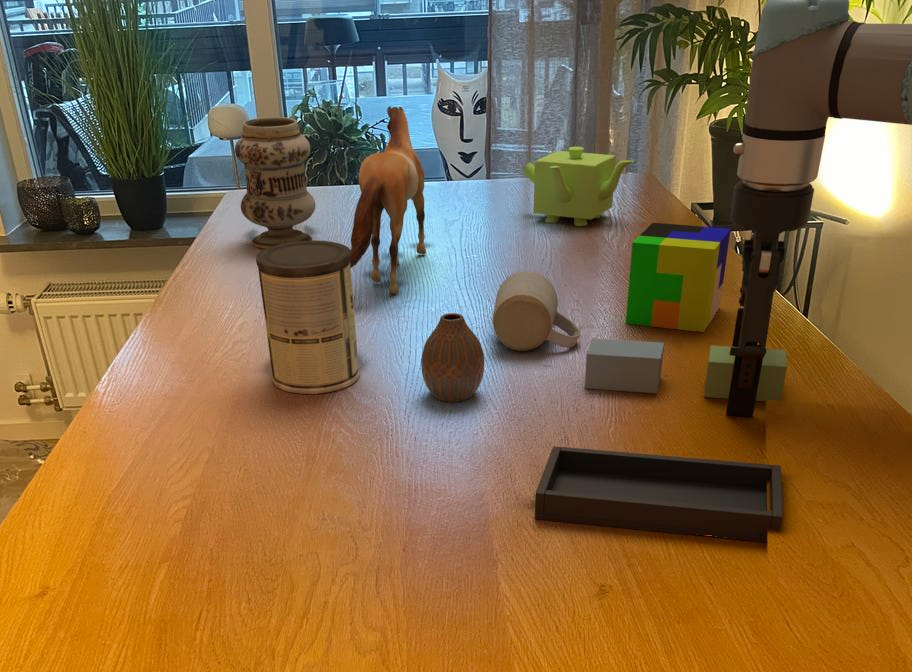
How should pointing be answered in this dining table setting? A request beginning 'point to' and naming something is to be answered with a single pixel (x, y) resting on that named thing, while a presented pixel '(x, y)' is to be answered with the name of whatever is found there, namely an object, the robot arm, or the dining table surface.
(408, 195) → the horse figurine
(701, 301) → the puzzle toy
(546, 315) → the ceramic mug
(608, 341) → the grey block
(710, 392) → the green rectangular block
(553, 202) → the kettle
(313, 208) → the apothecary jar
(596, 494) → the black rectangular tray
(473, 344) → the vase
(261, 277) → the coffee can
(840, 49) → the robot arm
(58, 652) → the dining table surface
